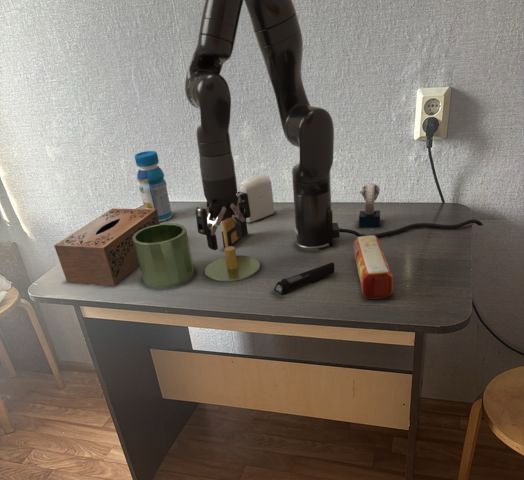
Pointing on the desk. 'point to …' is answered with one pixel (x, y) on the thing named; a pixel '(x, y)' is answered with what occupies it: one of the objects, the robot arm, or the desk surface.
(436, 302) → the desk surface
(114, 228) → the tissue box cover
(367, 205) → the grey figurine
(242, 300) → the desk surface
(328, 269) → the electric trimmer
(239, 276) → the lid
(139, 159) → the beverage bottle
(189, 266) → the canister
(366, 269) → the snack package
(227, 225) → the ammunition clip
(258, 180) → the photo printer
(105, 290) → the desk surface
